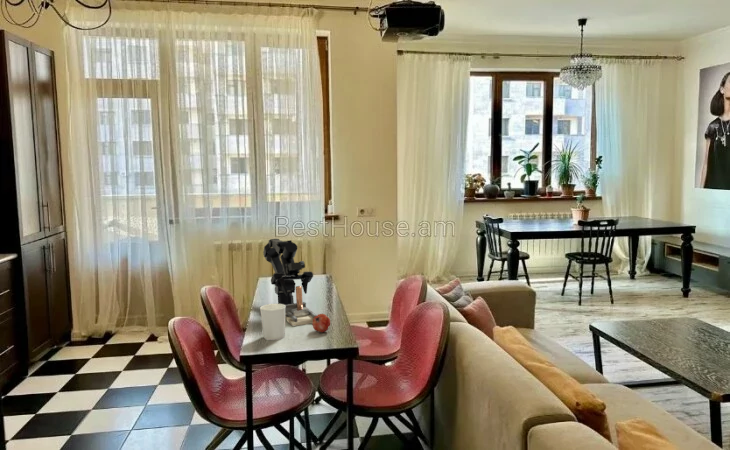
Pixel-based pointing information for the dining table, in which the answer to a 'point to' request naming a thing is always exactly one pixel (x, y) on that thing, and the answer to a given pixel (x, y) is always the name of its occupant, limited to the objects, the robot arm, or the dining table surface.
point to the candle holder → (273, 321)
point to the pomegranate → (321, 323)
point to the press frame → (300, 319)
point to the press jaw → (299, 304)
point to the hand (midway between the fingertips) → (296, 294)
